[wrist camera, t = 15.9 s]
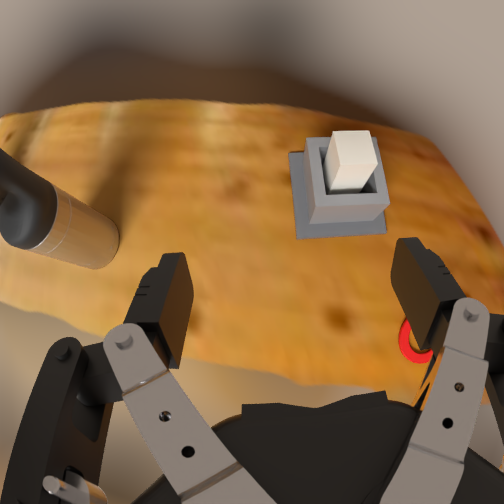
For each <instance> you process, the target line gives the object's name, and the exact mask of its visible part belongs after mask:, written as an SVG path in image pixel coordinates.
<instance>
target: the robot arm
mask: <svg viewBox="0 0 504 504" xmlns="http://www.w3.org/2000/svg"><path fill="white" fill-rule="evenodd" d="M0 232H1V235H2V237H3V238H4V240H5V241H6V242H7V243H9V244H10V245H12V246H14V247H17V248H20V249H24V250H27V251H30V252H34V253H37V254H41V255H44V256H48V257H51V258H54V259H58V260H61V261H65V262H68V263H72V264H76V265H79V266H82V267H86V268H90V269H99V268H102V267H104V266H105V265H107V264H108V263H109V262H110V261H111V260H112V259H113V257H114V256H115V254H116V252H117V248H118V244H119V233H118V229H117V227H116V225H115V224H114V222H113V221H112V220H110V219H109V218H107V217H106V216H104V215H102V214H101V213H99V212H98V211H96V210H94V209H93V208H91V207H89V206H88V205H86V204H84V203H83V202H81V201H79V200H78V199H76V198H74V197H73V196H71V195H69V194H68V193H66V192H65V191H63V190H61V189H60V188H58V187H56V186H55V185H53V184H52V183H50V182H49V181H47V180H45V179H44V178H42V177H40V176H39V175H37V174H35V173H34V172H32V171H31V170H29V169H27V168H26V167H24V166H23V165H21V164H20V163H19V162H17V161H16V160H15V159H13V158H12V157H11V156H9V155H8V154H7V153H6V152H4V151H3V150H2V149H1V148H0ZM391 283H392V287H393V289H394V291H395V293H396V295H397V297H398V300H399V302H400V304H401V306H402V308H403V311H404V313H405V315H406V318H407V320H408V322H409V324H410V327H411V329H412V331H413V334H414V336H415V339H416V341H417V344H418V346H419V348H420V350H424V349H429V348H431V349H432V351H433V354H432V356H431V358H430V360H429V363H428V366H427V368H426V371H425V374H424V376H423V379H422V381H421V384H420V386H419V389H418V391H417V394H416V396H415V398H414V400H413V402H412V404H411V406H410V405H408V404H405V403H402V402H398V401H392V400H388V399H387V395H386V391H379V392H373V393H368V394H361V395H354V396H350V397H348V398H345V399H342V400H340V401H337V402H334V403H331V404H329V405H326V406H323V407H319V408H309V407H302V406H295V405H288V404H282V403H267V404H242V414H239V415H235V416H232V417H230V418H227V419H225V420H223V421H221V422H219V423H217V424H216V425H214V426H212V427H211V428H210V427H209V425H208V424H207V423H206V421H205V420H204V419H203V417H202V416H201V415H200V413H199V412H198V411H197V409H196V408H195V406H194V405H193V404H192V402H191V401H190V399H189V398H188V397H187V395H186V394H185V392H184V391H183V390H182V388H181V387H180V385H179V384H178V382H177V381H176V379H175V378H174V376H173V375H172V373H171V372H170V371H169V368H170V369H171V368H173V369H179V365H180V360H181V355H182V350H183V345H184V341H185V336H186V331H187V326H188V322H189V317H190V312H191V308H192V303H193V297H194V291H193V284H192V280H191V276H190V273H189V269H188V265H187V261H186V257H185V254H184V253H183V252H179V253H165V254H163V255H162V257H161V260H160V262H159V265H158V267H153V268H150V269H149V271H148V272H147V273H146V274H145V275H144V276H143V277H142V279H141V281H140V284H139V286H138V287H139V288H137V291H136V293H135V296H134V298H133V300H132V303H131V305H130V307H129V310H128V312H127V315H126V317H125V320H124V322H123V324H121V325H118V326H116V327H115V328H113V329H112V330H110V331H109V332H108V334H107V335H106V336H105V338H104V342H101V343H97V344H92V345H88V346H84V347H82V345H81V344H80V342H79V341H78V340H77V339H76V338H73V337H66V338H62V339H60V340H58V341H57V342H55V343H54V344H53V345H52V346H51V347H50V349H49V351H48V353H47V355H46V357H45V360H44V362H43V364H42V367H41V369H40V372H39V374H38V377H37V379H36V382H35V384H34V387H33V389H32V392H31V395H30V397H29V400H28V403H27V406H26V409H25V412H24V415H23V418H22V420H21V423H20V427H19V430H18V433H17V436H16V439H15V443H14V446H13V450H12V453H11V457H10V461H9V464H8V469H7V473H6V477H5V481H4V485H3V490H2V495H1V500H0V504H108V502H107V498H106V495H105V494H104V492H103V491H102V490H101V489H100V488H99V487H98V483H99V477H100V471H101V465H102V459H103V453H104V447H105V443H106V437H107V432H108V427H109V423H110V418H111V413H112V409H113V404H114V402H117V401H122V400H124V402H125V404H126V406H127V408H128V410H129V412H130V414H131V416H132V418H133V420H134V422H135V424H136V425H137V428H138V429H139V431H140V433H141V435H142V437H143V438H144V440H145V442H146V444H147V446H148V448H149V449H150V451H151V453H152V455H153V456H154V458H155V460H156V461H157V463H158V464H159V466H160V468H161V470H162V471H163V473H164V474H163V475H161V476H160V477H159V478H158V479H157V480H156V481H155V482H154V483H153V484H152V485H151V486H150V487H149V488H148V489H146V490H145V491H144V492H143V493H142V494H141V495H140V496H139V497H138V498H137V499H135V500H134V501H133V502H132V503H131V504H504V455H503V460H502V464H501V466H500V467H499V469H497V468H496V467H495V466H493V465H492V464H491V463H489V462H488V461H487V460H485V459H484V458H483V457H481V456H480V455H478V454H477V453H476V452H474V451H473V450H472V449H470V448H469V447H468V445H469V442H470V438H471V435H472V432H473V429H474V426H475V422H476V419H477V415H478V411H479V407H480V403H481V399H482V395H483V391H484V386H485V388H486V391H487V394H488V396H489V399H490V402H491V405H492V408H493V411H494V414H495V417H496V421H497V424H498V427H499V431H500V434H501V438H502V441H503V444H504V315H500V314H491V313H489V312H488V310H487V308H486V307H485V306H484V305H483V304H482V303H481V302H479V301H477V300H475V299H472V298H467V297H466V296H465V294H464V293H463V291H462V289H461V288H460V286H459V285H458V283H457V282H456V280H455V279H454V277H453V276H452V274H450V271H449V270H448V268H447V267H445V264H444V263H443V261H442V260H441V258H440V257H439V256H438V255H436V254H435V253H434V252H432V251H431V250H430V249H426V248H425V247H424V246H423V244H422V243H421V241H420V240H419V239H418V238H417V237H412V238H399V239H398V240H397V243H396V248H395V253H394V258H393V263H392V268H391Z"/></svg>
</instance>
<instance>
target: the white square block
mask: <svg viewBox="0 0 504 504" xmlns="http://www.w3.org/2000/svg"><path fill="white" fill-rule="evenodd" d="M377 164H378V162H377V158H376V154H375V150H374V147H373V143H372V139H371V135H370V132H369V131H333V133H332V137H331V140H330V144H329V147H328V151H327V154H326V157H325V161H324V164H323V168H322V171H323V178H324V185H325V192H326V195H339V194H359V192H360V191H361V189H362V188H363V186H364V185H365V183H366V182H367V180H368V178H369V177H370V175H371V174H372V172H373V171H374V169H375V168H376V166H377Z"/></svg>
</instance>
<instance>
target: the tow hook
mask: <svg viewBox="0 0 504 504" xmlns="http://www.w3.org/2000/svg"><path fill="white" fill-rule="evenodd" d="M410 331H411V327H410V324H409V322H408V320H407V319H406V320H405V321H404V323H403V325H402V326H401V329H400V332H399V347H400V350H401V352H402V354H403V355H404V356H405V357H406V358H407V359H408V360H410V361H412V362H414V363H419V364H420V363H426V362H429V360H430V358H431V356H432V354H433V351H432V349H430V350H429V351H427V352H425V353H421V354H419V353H416V352H414V351H413V350H412V349H411V347H410V345H409V333H410Z"/></svg>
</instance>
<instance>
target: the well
mask: <svg viewBox="0 0 504 504" xmlns="http://www.w3.org/2000/svg"><path fill="white" fill-rule="evenodd" d="M371 139H372V143H373V147H374V150H375V154H376V158H377V162H378V164H377V166H376V168H375V169H374V171H373V172H372V174H371V175H370V177H369V178H368V180H367V182H366V183H365V185H364V186H363V188H362V189H361V191H360V192H359V194H339V195H326V192H325V185H324V178H323V171H322V168H323V164H324V161H325V157H326V154H327V151H328V147H329V144H330V140H331V137H313V138H306V143H305V150H304V152H301V153H288V157H289V166H290V175H291V184H292V194H293V204H294V215H295V226H296V237H297V239H312V238H328V237H344V236H360V235H376V234H386V233H387V231H386V224H385V218H384V211H383V210H384V209H385V208H386V207H387V206H388V205H389V204H390V201H389V195H388V190H387V185H386V180H385V175H384V170H383V166H382V161H381V157H380V153H379V148H378V144H377V140H376V137H371Z"/></svg>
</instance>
